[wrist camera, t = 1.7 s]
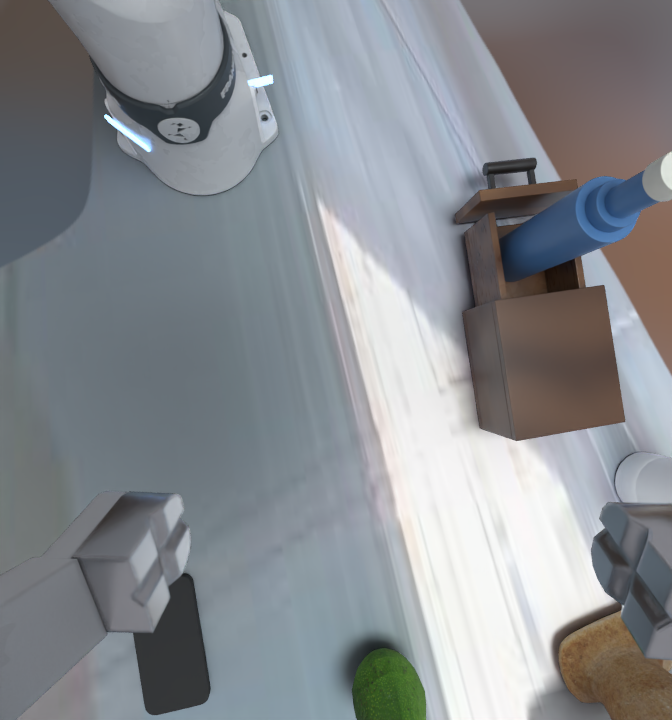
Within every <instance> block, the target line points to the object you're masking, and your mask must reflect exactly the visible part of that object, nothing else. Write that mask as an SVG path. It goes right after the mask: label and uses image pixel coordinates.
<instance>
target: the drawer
mask: <svg viewBox="0 0 672 720" xmlns="http://www.w3.org/2000/svg"><path fill="white" fill-rule="evenodd" d="M536 165H537V161H536V159H535V158H526V159H516V160H507V161H498V162H489V163H485V164H484V166H483V175H484V176H487V181H488V188H489V189H486V190H479V191H478V192H477V193H476V194H475V195H474V196H473V197H472V198H471V199H470V200H469V201H468V202H467V203H466V204H465V205H464V206H463V207H462V208H461V209H460V210H459V211H458V212H457V213H456V214H455V218H456V224H458V223H466V222H474V221H478V222H477V223H475V224H474V225H473V226H472V227H471V228H469V229H468V230H467V231H466V232H465V233H464V234H465V240H466V247H467V253H468V260H469V267H470V273H471V280H472V286H473V293H474V299H475V306H476V307H477V306H480V305H483V304H486V303H489V302H492V301H495V300H502V299H509V298H516V297H523V296H530V295H537V294H544V293H551V292H558V291H565V290H572V289H579V288H586V286H585V280H584V273H583V267H582V260H581V256H579V257H577V258H574V259H572V260H569V261H567V262H564V263H562V264H559V265H557V266H554V267H552V268H549V269H547V270H544V271H541V272H539V273H536V274H534V275H531V276H529V277H526V278H524V279H521V280H519V281H515V282H507V281H505V278H504V271H503V265H502V258H501V252H500V245H499V239H500V238H502V237H503V236H505V235H506V234H508V233H510V232H511V231H513V230H514V229H516V228H517V227H519V226H520V225H522V224H515V225H507V226H499V227H497V226H496V219H499V218H507V217H515V216H523V215H532V214H539V213H540V212H542V211H543V210H545V209H547V208H548V207H550V206H551V205H553V204H554V203H556V202H557V201H559V200H560V199H562V198H564V197H565V196H567V195H568V194H570V193H571V192H573V191H574V190H576V189H577V188H578V186H577V180H576V179H574V180H565V181H556V182H547V183H539V184H536V179H535V173H534V169H535V168H536ZM526 171H527V177H528V183H529V185H521V186H513V187H504V188H496V186H495V180H494V175H499V174H508V173H517V172H526Z"/></svg>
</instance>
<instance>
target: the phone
mask: <svg viewBox="0 0 672 720" xmlns="http://www.w3.org/2000/svg"><path fill="white" fill-rule="evenodd" d="M168 588H169V593H170V597H171V598H170V600H169V602H168V604H167V606H166V608H165V610H164V612H163V614H162V616H161V618H160V620H159V622H158V624H157V626H156V628H155V630H154V632H153V633H133V635H134V641H135V648H136V654H137V660H138V667H139V673H140V679H141V685H142V692H143V698H144V704H145V708H146V711H147V712H148V713H149V714H151V715H159V714H163V713H168V712H172V711H176V710H180V709H185V708H189V707H193V706H197V705H201V704H203V703H205V702H206V701H207V700H208V697H209V694H210V682H209V676H208V670H207V664H206V657H205V651H204V645H203V639H202V633H201V626H200V620H199V614H198V608H197V602H196V595H195V589H194V583H193V580H192V578H191V577H190V576H189V575H187V574H182V575H181V577H179V578H178V579H177V580H176V581H174V582H173V583H172V584H171V585H169V586H168Z"/></svg>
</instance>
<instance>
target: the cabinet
mask: <svg viewBox="0 0 672 720" xmlns="http://www.w3.org/2000/svg"><path fill="white" fill-rule="evenodd" d="M462 314H463V321H464V327H465V334H466V340H467V347H468V353H469V360H470V367H471V373H472V380H473V386H474V393H475V399H476V406H477V413H478V419H479V426H480V429H483V430H486V431H489V432H492V433H495V434H498V435H501V436H503V437H506V438H509V439H512V440H515V441H519V440H525V439H531V438H536V437H542V436H548V435H553V434H559V433H565V432H570V431H576V430H582V429H587V428H593V427H599V426H605V425H610V424H616V423H622V422H625V416H624V410H623V403H622V397H621V390H620V384H619V377H618V371H617V364H616V358H615V351H614V345H613V338H612V332H611V325H610V319H609V312H608V306H607V299H606V293H605V286H604V285H600V286H593V287H586V288H579V289H572V290H565V291H558V292H551V293H544V294H537V295H530V296H523V297H516V298H509V299H502V300H495V301H492V302H489V303H486V304H483V305H480V306H477V307H475V308H472V309H469V310H466V311H463V312H462Z"/></svg>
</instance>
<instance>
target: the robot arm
mask: <svg viewBox="0 0 672 720" xmlns="http://www.w3.org/2000/svg"><path fill="white" fill-rule="evenodd" d="M48 1H49V2H50V3H51V5H52V6H53V7H54V9H55V10H56V11H57V12H58V14H59V15H60V16H61V17H62V19H63V20H64V21H65V22H66V24H67V25H68V26H69V28H70V29H71V30H72V31H73V33H74V34H75V36H76V37H77V38H78V40H79V41H80V42H81V44H82V45H83V46H84V48H85V49H86V51H87V52H88V53H89V56H90V59H91V62H92V65H93V67H94V69H95V71H96V73H97V75H98V77H99V79H100V81H101V83H102V85H103V86H104V88H105V89H106V91H107V98H106V99H105V105H106V107H107V109H108V111H109V112H110V114H111V116H112V117H113V119H114V120H113V119H111V118H110V117H109V116H107V115H105V116H104V117H105V118H106V120H107V121H108V122H109V123H110V124H112V125H113V126H114V127H116V128H117V129H118V131H117V142H118V144H119V146H120V148H121V149H122V150H123V151H124V152H125V153H126V154H128V155H129V156H131V157H133V158H135V159H137V160H139V161H142V162H143V163H144V164H145V165H146V166H147V167H148V168H149V169H150V170H151V171H152V172H153V173H154V174H155V175H156V176H157V177H158V178H159V179H160V180H161V181H162V182H164V183H165V184H167V185H168V186H170V187H172V188H174V189H176V190H178V191H181V192H184V193H188V194H193V195H211V194H216V193H220V192H223V191H226V190H228V189H230V188H232V187H234V186H235V185H237V184H238V183H239V182H241V181H242V180H243V179H244V178H245V177H246V176H247V175H248V174H249V172H250V171H251V170H252V168H253V166H254V165H255V163H256V161H257V159H258V156H259V155H260V153H261V151H262V150H263V149H264V148H266V147H267V146H268V145H269V144H271V143H272V142H273V141H274V140H275V139H276V137H277V136H278V132H279V131H278V126H277V123H276V120H275V117H274V114H273V111H272V108H271V106H270V103H269V100H268V97H267V94H266V92H265V89H264V85H268V84H272V83H273V77H272V75H269V76H265V77H260V75H259V72H258V69H257V66H256V63H255V61H254V58H253V55H252V52H251V49H250V47H249V44H248V41H247V38H246V35H245V33H244V30H243V27H242V24H241V22H240V20H239V19H238V18H237V17H236V16H234V15H232V14H230V13H228V12H225V11H223V10H222V7H221V4H220V2H219V1H218V0H48ZM264 118H266V119H268V120H267V121H265V122H264V121H262V119H264ZM184 509H185V508H184V505H183V501H182V498H181V496H180V495H178V494H175V493H153V492H131V491H130V492H119V491H105V492H103V493H100V494H98V495H97V496H96V497H95V498H94V500H93V501H92V502H91V503H90V504H89V505H88V506H87V507H86V508H85V509H84V510H83V512H82V513H81V514H80V515H79V516H78V517H77V518H76V519H75V520H74V521H73V523H72V524H71V525H70V526H69V527H68V528H67V529H66V530H65V531H64V532H63V533H62V535H61V536H60V537H59V538H58V539H57V540H56V541H55V542H54V543H53V544H52V546H51V547H50V548H49V549H48V550H47V551H46V552H45V553H44V554H43V555H42V556H41V557H32V558H30V559H29V560H27V561H25V562H23V563H21V564H20V565H18V566H16V567H14V568H13V569H11V570H9V571H7V572H6V573H4V574H2V575H0V720H16V719H17V718H19V717H20V716H21V715H22V714H23V713H24V712H25V711H26V710H27V709H28V708H29V707H30V706H31V705H33V704H34V703H35V702H36V701H37V700H38V699H39V698H40V697H41V696H42V695H43V694H44V693H45V692H47V691H48V690H49V689H50V688H51V687H52V686H53V685H54V684H55V683H56V682H57V681H58V680H60V679H61V678H62V677H63V676H64V675H65V674H66V673H67V672H68V671H69V670H70V669H71V668H72V667H74V666H75V665H76V664H77V663H78V662H79V661H80V660H81V659H82V658H83V657H84V656H85V655H86V654H88V653H89V652H90V651H91V650H92V649H93V648H94V647H95V646H96V645H97V644H98V643H99V642H101V641H102V640H103V639H104V638H105V637H106V636H107V632H128V633H153V632H154V630H155V628H156V626H157V624H158V622H159V620H160V618H161V616H162V614H163V612H164V610H165V608H166V606H167V604H168V602H169V600H170V598H171V597H170V593H169V588H168V586H169V585H171V584H172V583H173V582H174V581H176V580H177V579H178V578H179V577H181V575H182V573H183V571H184V569H185V567H186V565H187V562H188V558H189V554H190V549H191V533H190V529H189V526H188V525H187V524H186V523H185V522H184V521H183V520H182V519H181V518H180V516H181V515H182V513H183V511H184ZM599 519H600V521H601V522H602V524H603V525H604V527H605V529H603V530H602V531H601V532H600V533H598V534H597V535H596V536H595V537H594V539H593V544H592V548H591V555H592V563H593V568H594V570H595V573H596V576H597V578H598V580H599V582H600V584H601V585H602V587H603V589H604V591H605V592H606V593H607V594H608V595H610V596H611V597H612V598H614V599H615V600H616V601H618V602H619V603H620V604H622V610H621V619H622V621H623V622H624V624H625V626H626V627H627V629H628V630H629V632H630V634H631V635H632V637H633V639H634V640H635V642H636V644H637V645H638V647H639V648H640V650H641V652H642V653H643V655H644V657H645V658H647V659H660V660H672V503H628V502H608V503H607V504H606V505H605V506H604V507H603V508H602V511H601V514H600V518H599Z"/></svg>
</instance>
